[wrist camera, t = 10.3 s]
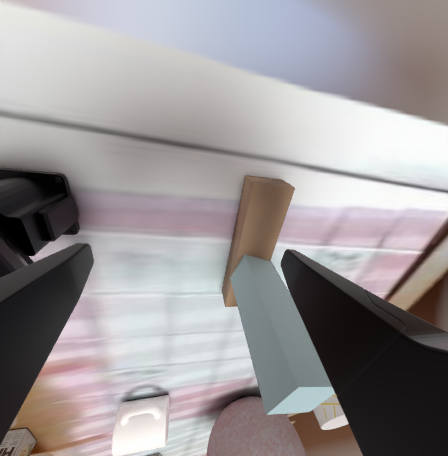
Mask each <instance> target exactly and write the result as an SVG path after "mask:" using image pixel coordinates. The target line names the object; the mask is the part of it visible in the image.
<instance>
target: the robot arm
mask: <svg viewBox="0 0 448 456" xmlns="http://www.w3.org/2000/svg"><path fill="white" fill-rule="evenodd" d="M57 177H58V178H60V179H61V181H59V180H58V179H57ZM77 220H78V216H77V212H76V208H75V204H74V200H73V197H72V196H71V194H70V190H69V186H68V182H67V179H66V177H65V176H64V175H62V174H59V173H49V172H39V171H28V170H18V169H8V168H0V445H1V443H2V442H3V440H4V438H5V436H6V434H7V432H8V430H9V429H10V427H11V425H12V423H13V421H14V419H15V417H16V416H17V414H18V412H19V410H20V408H21V406H22V404H23V403H24V401H25V399H26V397H27V395H28V393H29V391H30V390H31V388H32V386H33V384H34V382H35V380H36V378H37V377H38V375H39V373H40V371H41V369H42V367H43V365H44V364H45V362H46V360H47V358H48V356H49V354H50V352H51V351H52V349H53V347H54V345H55V343H56V341H57V339H58V338H59V336H60V334H61V332H62V330H63V328H64V326H65V325H66V323H67V321H68V319H69V317H70V315H71V313H72V312H73V310H74V308H75V306H76V304H77V302H78V300H79V298H80V296H81V294H82V291H83V289H84V286H85V284H86V281H87V279H88V276H89V274H90V271H91V268H92V266H93V262H94V259H93V255H92V250H91V246H90V245H89V244H88V243H77V244H74V245H72V246H70V247H68V248H65V249H63V250H61V251H59V252H56V253H54V254H52V255H50V256H48V257H45V258H43V259H41V260H39V261H37V262H33V261H32V260H31V259H30V257H29V256H34V255H35V254H36V253H38V252H39V251H40V250H41V249H42V248H43V247H44V246H46V245H47V244H48V243H49V242H50V241H53V242H54V241H55V240H56V239H57V238H59V237H60V236H61V235H62V234H65V235H75V234H77V233H78V232H79V225H78V222H77ZM72 229H74V230H75V231H73V230H72ZM281 268H282V271H283V274H284V277H285V280H286V283H287V286H288V289H289V292H290V294H291V296H292V299H293V301H294V303H295V305H296V308H297V310H298V312H299V314H300V316H301V319H302V321H303V323H304V325H305V328H306V330H307V332H308V334H309V336H310V339H311V341H312V343H313V345H314V347H315V350H316V352H317V354H318V356H319V359H320V361H321V363H322V365H323V367H324V370H325V372H326V374H327V376H328V379H329V381H330V383H331V385H332V387H333V390H334V392H335V394H336V395H337V399H338V401H339V403H340V406H341V408H342V410H343V412H344V414H345V417H346V419H347V421H348V423H349V425H350V428H351V430H352V432H353V434H354V437H355V439H356V441H357V443H358V445H359V448H360V450H361V452H362V454H363V456H448V332H446V331H444V330H442V329H440V328H438V327H436V326H434V325H432V324H430V323H428V322H426V321H424V320H422V319H420V318H418V317H416V316H414V315H412V314H410V313H408V312H406V311H404V310H403V309H401V308H399V307H397V306H395V305H393V304H391V303H389V302H387V301H385V300H383V299H382V298H380V297H378V296H376V295H374V294H373V293H371V292H369V291H367V290H365V289H363V288H362V287H360V286H358V285H356V284H355V283H353V282H351V281H349V280H347V279H346V278H344V277H342V276H340V275H339V274H337V273H335V272H333V271H331V270H330V269H328V268H326V267H324V266H322V265H321V264H319V263H317V262H315V261H314V260H312V259H310V258H308V257H306V256H305V255H303V254H301V253H299V252H297V251H296V250H290V249H287V250H286V251H285V253H284V255H283V258H282V260H281Z"/></svg>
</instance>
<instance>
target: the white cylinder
mask: <svg viewBox="0 0 448 456" xmlns="http://www.w3.org/2000/svg"><path fill="white" fill-rule="evenodd" d="M313 410H314V413H315V415H316V417H317V419H318V422H319V424H320V426H321V428H322V429H323V430H328V429H334V428H338V427H341V426H344V425H346V424H349V423H348V421H347V419H346V417H345V414H344V412H343V410H342V408H341V406H340V403H339V401H338V399H337V395H336V394H333V395H332V396H331V397H329V398H328V399H327V400H325V401H324V402H322V403H321V404H320V405H318V406H317V407H316V408H314V409H313Z"/></svg>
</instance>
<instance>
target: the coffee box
mask: <svg viewBox="0 0 448 456" xmlns="http://www.w3.org/2000/svg"><path fill="white" fill-rule="evenodd" d="M35 443H36V440H35V438H34V437H33V436H32V434H31V433H30V432H29V431H28V429H26V428H25V429H17V430H9V431H8V432H7V434H6V436H5V438H4V440H3V442H2V443H1V445H0V456H30V454H31V452H32V450H33V447H34V445H35Z"/></svg>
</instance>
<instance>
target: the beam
mask: <svg viewBox="0 0 448 456" xmlns="http://www.w3.org/2000/svg"><path fill="white" fill-rule="evenodd" d="M294 190H295V188H294V187H293V186H291V185H290V184H288V183H287V182H285V181H283V180H279V179H271V178H262V177H254V176H245V181H244V186H243V190H242V195H241V200H240V205H239V210H238V215H237V220H236V225H235V229H234V234H233V239H232V244H231V249H230V254H229V259H228V264H227V268H226V273H225V278H224V283H223V288H222V293H223V298H224V303H225V307H233V306H237V302H236V298H235V294H234V291H233V287H232V283H231V279H230V278H231V276H232V274H233V272H234V271H235V269H236V267H237V265H238V264H239V262H240V260H241V258H242V257H243V255H244V254H245V255H249V256H252V257H256V258H260V259H264V260H268V261H270V260H271V257H272V254H273V251H274V248H275V245H276V242H277V239H278V236H279V233H280V231H281V228H282V225H283V222H284V219H285V216H286V213H287V210H288V207H289V204H290V201H291V198H292V195H293V193H294Z"/></svg>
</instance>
